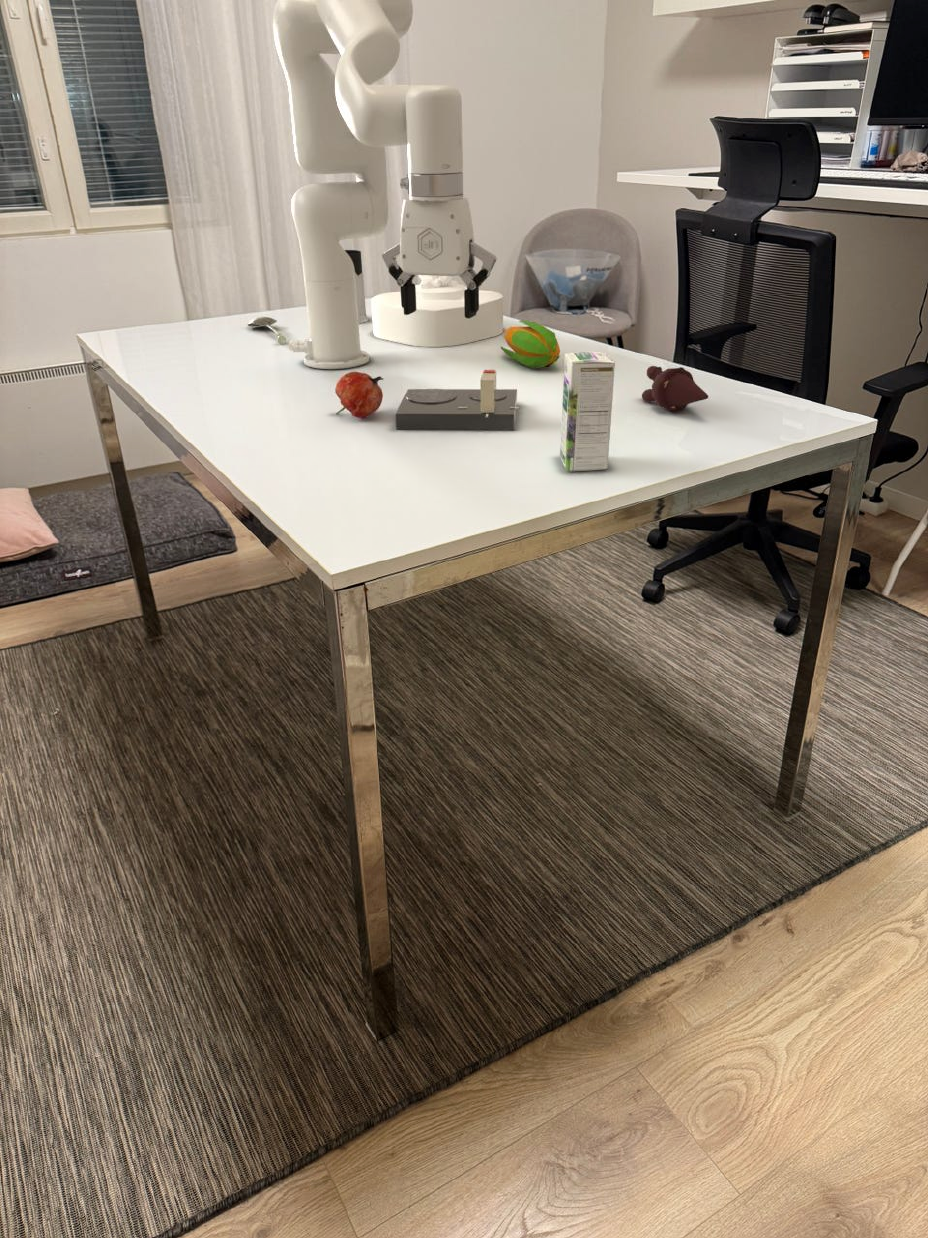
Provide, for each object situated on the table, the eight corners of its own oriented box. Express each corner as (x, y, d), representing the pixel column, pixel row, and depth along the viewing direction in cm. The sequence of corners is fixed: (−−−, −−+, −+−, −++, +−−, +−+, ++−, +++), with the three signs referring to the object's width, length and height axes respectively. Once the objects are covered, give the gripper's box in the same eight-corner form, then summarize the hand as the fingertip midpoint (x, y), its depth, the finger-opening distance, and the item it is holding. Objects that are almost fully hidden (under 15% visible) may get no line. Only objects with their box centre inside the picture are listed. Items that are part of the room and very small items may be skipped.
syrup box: (558, 458, 128) (562, 352, 121) (600, 456, 128) (606, 350, 121) (566, 472, 123) (570, 362, 116) (609, 470, 123) (616, 360, 116)
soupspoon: (274, 327, 213) (246, 331, 211) (272, 312, 212) (243, 316, 210) (297, 342, 195) (267, 346, 193) (295, 325, 194) (264, 330, 192)
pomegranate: (337, 436, 146) (380, 402, 140) (311, 396, 145) (354, 360, 140) (360, 428, 152) (403, 395, 147) (336, 389, 151) (378, 355, 146)
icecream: (731, 375, 140) (668, 364, 152) (694, 369, 136) (632, 358, 149) (719, 421, 142) (658, 406, 154) (683, 416, 138) (623, 401, 151)
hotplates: (403, 403, 144) (403, 402, 144) (410, 389, 151) (410, 388, 151) (505, 403, 143) (505, 402, 143) (507, 389, 150) (507, 388, 150)
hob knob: (494, 412, 139) (493, 378, 136) (480, 412, 139) (480, 377, 136) (496, 403, 143) (496, 369, 141) (483, 403, 143) (483, 369, 141)
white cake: (440, 316, 217) (438, 242, 210) (518, 330, 202) (519, 252, 194) (357, 333, 202) (351, 255, 194) (435, 350, 186) (432, 266, 179)
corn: (535, 331, 164) (489, 312, 180) (531, 375, 167) (487, 352, 184) (571, 330, 166) (523, 311, 183) (567, 373, 170) (520, 350, 186)
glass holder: (326, 324, 212) (319, 254, 205) (343, 312, 224) (337, 246, 217) (362, 324, 211) (357, 254, 204) (378, 312, 223) (374, 246, 216)
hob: (394, 433, 139) (393, 415, 138) (408, 404, 153) (407, 388, 152) (518, 433, 138) (518, 416, 137) (521, 404, 152) (521, 388, 150)
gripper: (368, 189, 128) (376, 316, 136) (485, 190, 122) (486, 323, 131) (390, 184, 134) (397, 307, 142) (503, 185, 128) (503, 313, 137)
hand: (440, 314), depth 136 cm, fingers open, 9 cm apart
